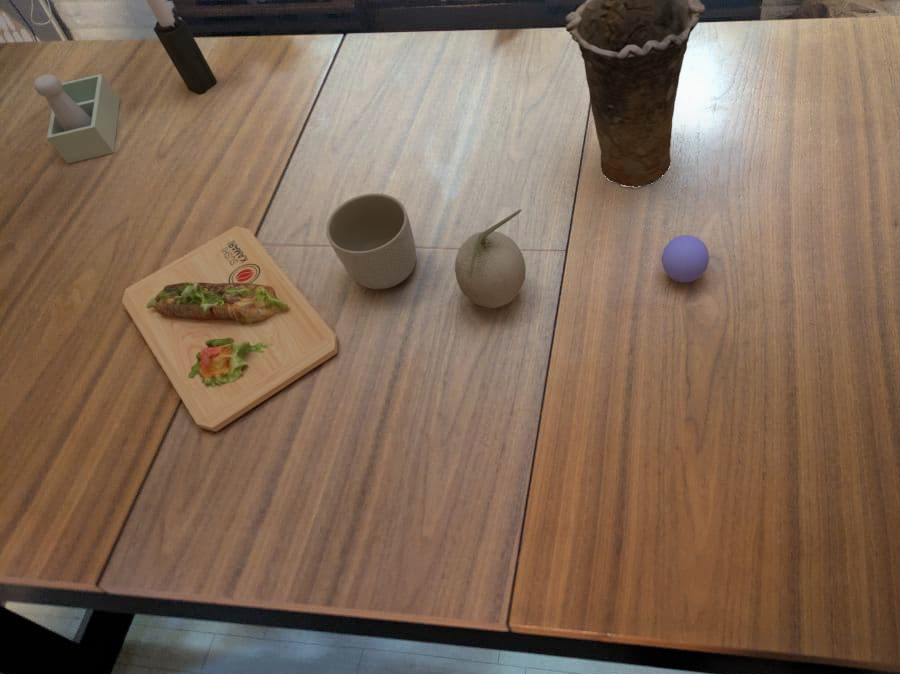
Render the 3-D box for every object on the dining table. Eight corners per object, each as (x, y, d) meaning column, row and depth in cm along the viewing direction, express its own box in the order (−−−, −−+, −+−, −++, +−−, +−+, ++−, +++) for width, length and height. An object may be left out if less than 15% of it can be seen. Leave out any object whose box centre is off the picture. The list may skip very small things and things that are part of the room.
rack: (67, 163, 138) (46, 138, 133) (76, 109, 147) (57, 83, 142) (114, 152, 138) (94, 126, 133) (120, 99, 147) (102, 73, 142)
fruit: (449, 316, 109) (427, 249, 96) (479, 262, 114) (462, 191, 102) (511, 333, 106) (497, 265, 94) (539, 277, 112) (529, 205, 99)
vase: (649, 212, 116) (656, 61, 94) (559, 174, 123) (545, 25, 100) (704, 148, 123) (723, -7, 100) (616, 115, 130) (615, -37, 107)
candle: (203, 74, 149) (134, -52, 127) (219, 81, 147) (151, -45, 126) (185, 88, 147) (112, -38, 126) (201, 95, 145) (129, -31, 124)
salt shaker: (77, 131, 141) (31, 71, 130) (105, 126, 141) (62, 66, 130) (71, 150, 138) (23, 91, 127) (99, 145, 138) (54, 86, 127)
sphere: (670, 252, 112) (672, 220, 106) (712, 264, 110) (718, 232, 104) (653, 284, 109) (655, 252, 103) (697, 297, 107) (702, 265, 101)
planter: (382, 312, 111) (361, 266, 102) (334, 275, 116) (309, 227, 107) (439, 265, 115) (423, 216, 106) (390, 231, 120) (370, 181, 111)
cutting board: (346, 350, 108) (329, 319, 101) (208, 439, 102) (181, 413, 95) (247, 228, 124) (227, 196, 117) (123, 300, 118) (94, 269, 111)
